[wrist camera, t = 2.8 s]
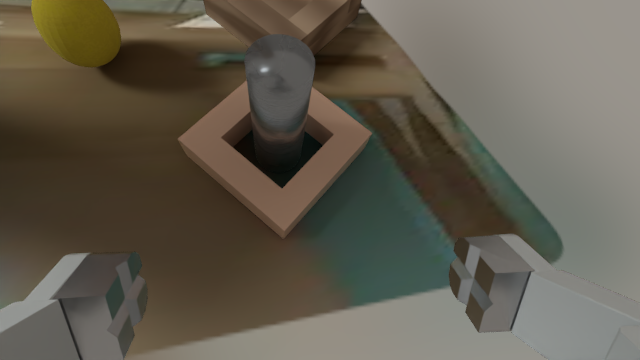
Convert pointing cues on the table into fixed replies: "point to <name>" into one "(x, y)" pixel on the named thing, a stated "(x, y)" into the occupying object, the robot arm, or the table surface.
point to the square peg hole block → (284, 19)
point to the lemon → (78, 30)
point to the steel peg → (279, 98)
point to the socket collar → (254, 186)
